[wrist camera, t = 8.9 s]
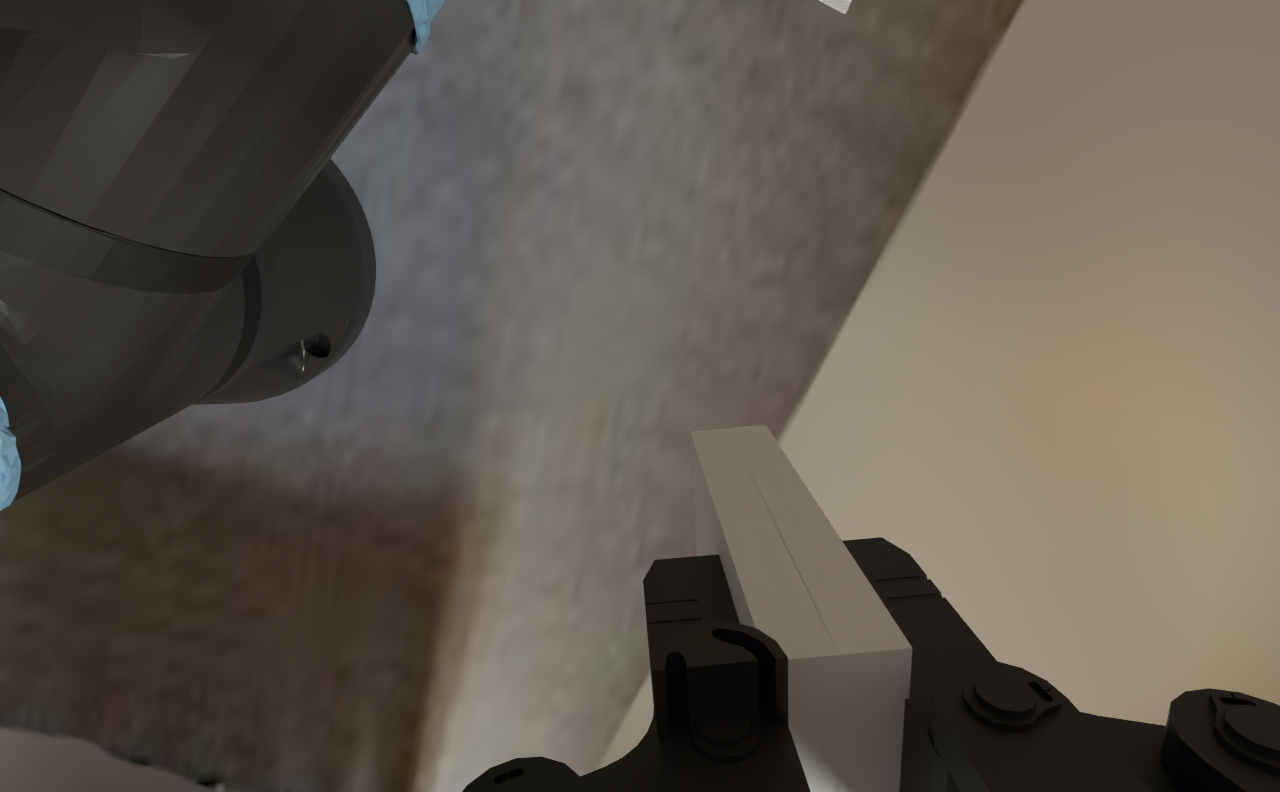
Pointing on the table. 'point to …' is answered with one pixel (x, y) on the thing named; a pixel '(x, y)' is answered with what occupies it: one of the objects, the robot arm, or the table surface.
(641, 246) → the table surface
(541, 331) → the table surface
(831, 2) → the figurine
